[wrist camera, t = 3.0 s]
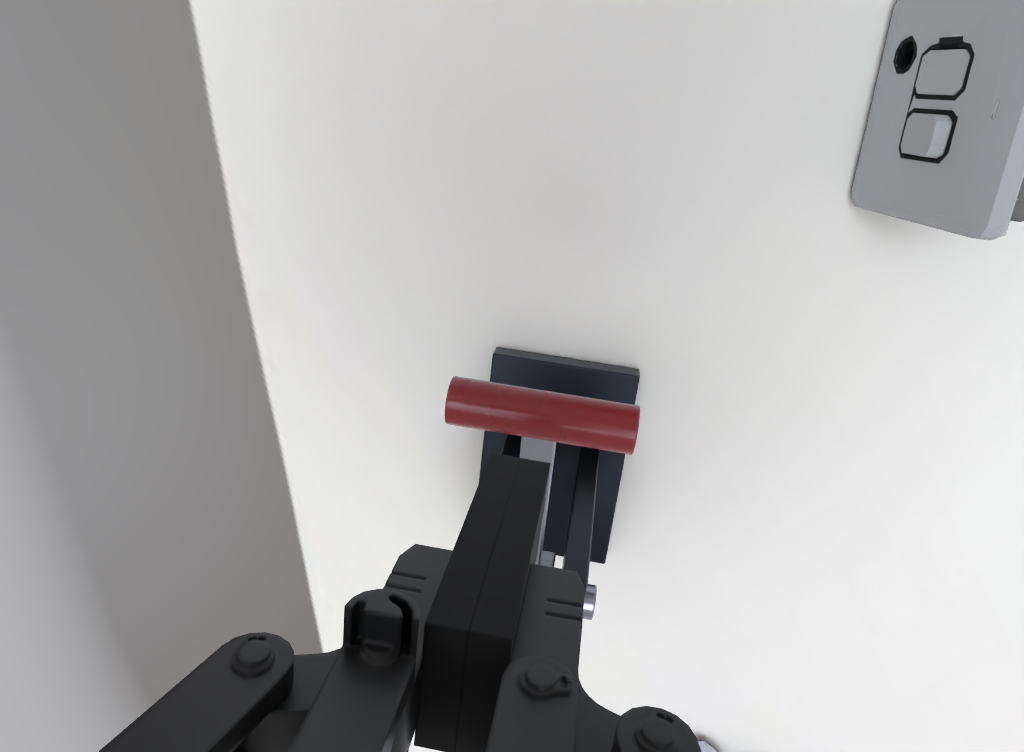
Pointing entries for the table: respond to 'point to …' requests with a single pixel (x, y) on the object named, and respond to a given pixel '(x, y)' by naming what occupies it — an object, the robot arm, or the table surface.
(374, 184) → the table surface
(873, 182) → the electrical switch
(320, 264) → the table surface
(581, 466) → the bracket
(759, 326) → the table surface
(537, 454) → the lever
